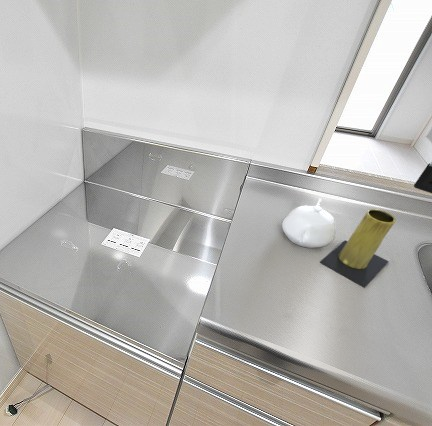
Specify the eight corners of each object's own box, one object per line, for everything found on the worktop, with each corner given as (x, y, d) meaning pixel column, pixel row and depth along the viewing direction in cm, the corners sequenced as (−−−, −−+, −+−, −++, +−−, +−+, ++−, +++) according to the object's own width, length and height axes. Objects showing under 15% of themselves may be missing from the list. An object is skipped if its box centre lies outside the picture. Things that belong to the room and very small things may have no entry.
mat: (388, 262, 74) (389, 261, 74) (364, 287, 68) (365, 287, 67) (344, 240, 81) (345, 240, 80) (319, 262, 74) (319, 261, 74)
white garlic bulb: (288, 211, 92) (300, 183, 86) (334, 226, 86) (350, 197, 80) (271, 246, 79) (283, 217, 73) (323, 267, 73) (341, 236, 67)
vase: (341, 266, 73) (370, 221, 64) (334, 250, 77) (360, 206, 69) (370, 271, 71) (404, 226, 63) (361, 254, 76) (391, 210, 67)
